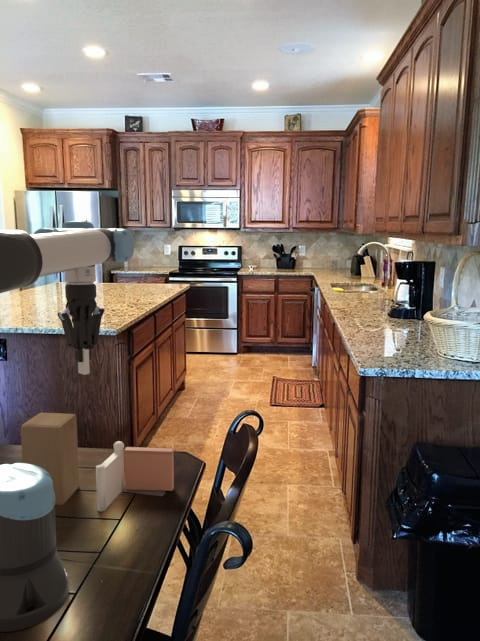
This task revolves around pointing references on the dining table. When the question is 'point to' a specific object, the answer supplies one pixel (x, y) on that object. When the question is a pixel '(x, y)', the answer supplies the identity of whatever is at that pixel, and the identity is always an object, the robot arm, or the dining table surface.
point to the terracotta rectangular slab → (149, 468)
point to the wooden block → (53, 450)
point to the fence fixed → (110, 477)
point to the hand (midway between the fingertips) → (84, 373)
